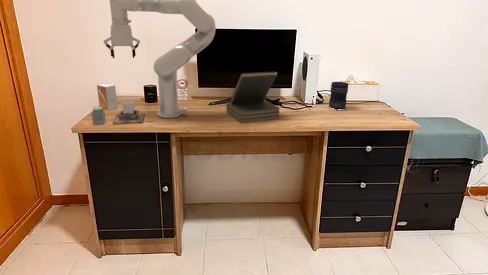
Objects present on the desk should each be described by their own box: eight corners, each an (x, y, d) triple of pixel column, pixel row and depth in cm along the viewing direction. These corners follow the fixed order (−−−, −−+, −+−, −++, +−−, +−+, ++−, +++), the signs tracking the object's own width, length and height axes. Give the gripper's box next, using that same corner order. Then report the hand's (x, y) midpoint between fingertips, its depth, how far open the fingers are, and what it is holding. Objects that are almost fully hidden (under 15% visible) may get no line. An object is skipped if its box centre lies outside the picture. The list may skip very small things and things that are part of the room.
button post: (105, 120, 174) (104, 109, 172) (103, 123, 169) (102, 112, 167) (95, 121, 173) (93, 109, 171) (93, 124, 169) (91, 112, 166)
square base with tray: (144, 115, 184) (144, 108, 183) (142, 123, 172) (142, 116, 170) (117, 115, 182) (116, 109, 180) (113, 124, 169) (112, 117, 168)
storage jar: (347, 110, 201) (350, 85, 196) (330, 110, 201) (333, 85, 196) (343, 106, 211) (346, 81, 205) (327, 105, 211) (329, 81, 205)
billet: (135, 116, 179) (133, 101, 176) (134, 118, 174) (132, 103, 172) (125, 116, 178) (123, 101, 175) (123, 119, 174) (122, 103, 171)
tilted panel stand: (263, 109, 201) (265, 66, 192) (279, 119, 184) (282, 72, 175) (226, 113, 192) (226, 68, 183) (239, 123, 175) (240, 74, 166)
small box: (99, 107, 196) (96, 84, 191) (109, 105, 201) (106, 83, 196) (108, 110, 191) (105, 86, 187) (118, 107, 196) (115, 85, 192)
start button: (104, 119, 173) (103, 106, 171) (103, 122, 169) (101, 108, 167) (95, 119, 173) (93, 106, 170) (93, 122, 169) (91, 108, 166)
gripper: (138, 21, 174) (141, 56, 180) (102, 21, 169) (106, 56, 176) (138, 22, 167) (141, 58, 173) (100, 22, 163) (104, 59, 169)
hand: (123, 57), depth 174 cm, fingers open, 9 cm apart
